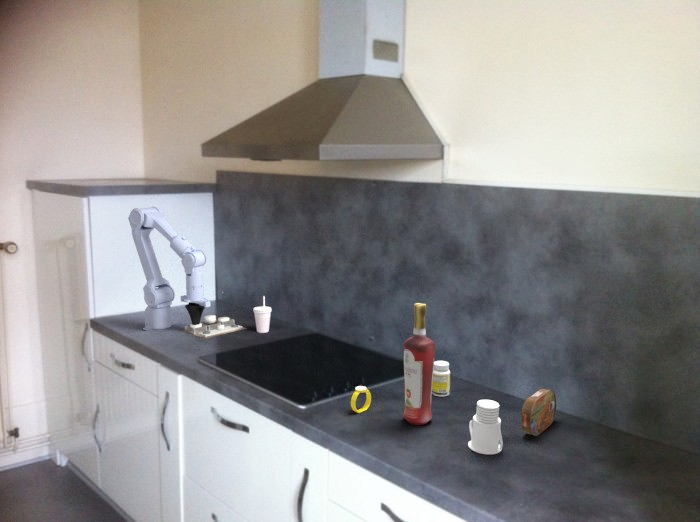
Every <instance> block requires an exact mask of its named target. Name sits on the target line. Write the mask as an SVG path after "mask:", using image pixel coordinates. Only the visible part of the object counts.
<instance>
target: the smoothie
mask: <svg viewBox="0 0 700 522" xmlns="http://www.w3.org/2000/svg"><path fill="white" fill-rule="evenodd" d="M262 302H263V303H262V306H255V307H253V309H252V310H253V311H252V312H253V313H254V321H255V327H256V332H257V333H259V334H264V333H268V332H269V330H270V324H271V323H270V322H271V313H272V312H273V311H272V307H271V306H268V305H267V306H266V297H265V295H263V296H262Z"/></svg>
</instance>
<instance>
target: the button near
mask: <svg viewBox="0 0 700 522" xmlns="http://www.w3.org/2000/svg"><path fill="white" fill-rule="evenodd" d="M189 325H190V327H191V328H198V327H202V324H201V322H200V324H198V325H192V323H190V324H189Z"/></svg>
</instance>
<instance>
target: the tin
mask: <svg viewBox="0 0 700 522" xmlns="http://www.w3.org/2000/svg"><path fill="white" fill-rule="evenodd" d="M556 409H557V396H556V393H555V391H554V389H545V388H540V389H539V390H537V391H535V392H534V393H533V394H532V395H530V396H529V397H527V398H526V399H525V400H524V403H523V405H522V409H521V430H522V431H523V433H524V434H526V435H531V436H534V437H538V436H539V435H541V434H542V433H543V432H544V431H545V430H547V429H548V427H550V426H551V425H552V423H554V419H555V416H556V411H557V410H556Z"/></svg>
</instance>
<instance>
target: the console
mask: <svg viewBox="0 0 700 522" xmlns="http://www.w3.org/2000/svg"><path fill="white" fill-rule="evenodd" d="M200 323H201V324H202V327H198V328H191V327H190V324H188V325H185V326H184V329H183V330H181V332H183V333H186V334H190V335H193V336H196V337H198V338H199V337H200V338H204V339H210V338H213V337H217V336H221V335H226V334H229V333H234V332H238V331H241V330H242V331H243V330H247V329H248V328H247V327H244V326H243V328H240V329H236V330H232V331H228V332H224V333H220V334H216V335H211V336H207V337H204V336H201V335H198V333H201V332H204V331H209V330H214V329H217V325H224V327H227V326H231V325H235V319H234V318H230V317H229V321H225V322H221V321H218V318H216V323H212V324H206V323H204V321H202V322H201V321H200Z"/></svg>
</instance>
